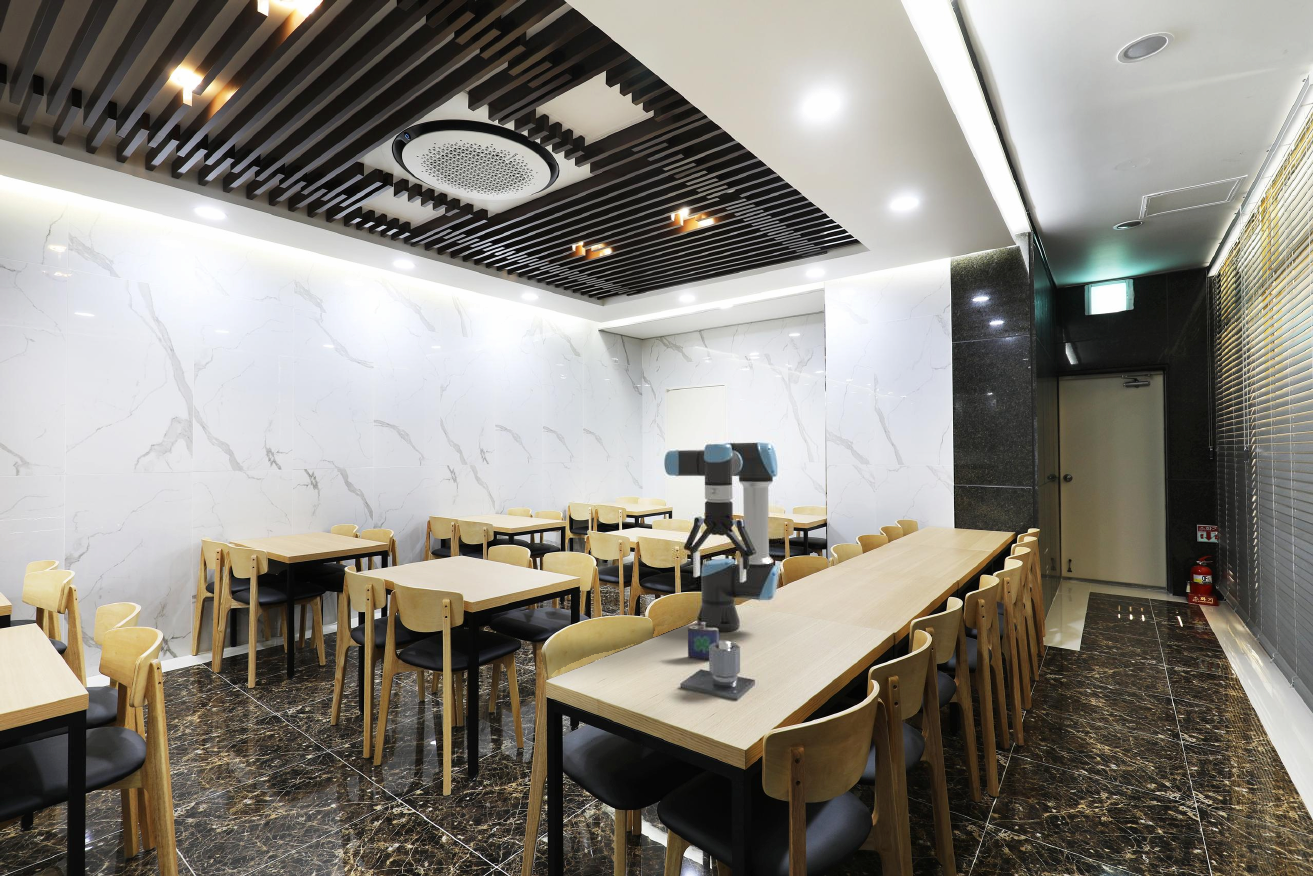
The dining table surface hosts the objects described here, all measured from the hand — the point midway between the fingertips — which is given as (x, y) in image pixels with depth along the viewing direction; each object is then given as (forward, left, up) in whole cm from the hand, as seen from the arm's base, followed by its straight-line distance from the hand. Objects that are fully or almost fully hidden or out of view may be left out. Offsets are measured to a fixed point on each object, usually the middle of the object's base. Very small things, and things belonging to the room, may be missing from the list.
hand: (719, 578), depth 167 cm
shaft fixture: (+5, +2, -27) cm, 28 cm away
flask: (-13, -11, -27) cm, 32 cm away
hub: (+5, +4, -23) cm, 24 cm away
